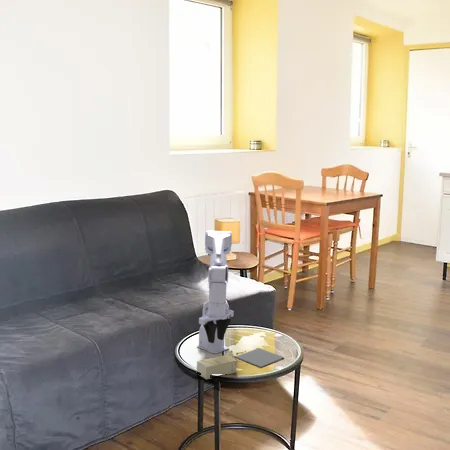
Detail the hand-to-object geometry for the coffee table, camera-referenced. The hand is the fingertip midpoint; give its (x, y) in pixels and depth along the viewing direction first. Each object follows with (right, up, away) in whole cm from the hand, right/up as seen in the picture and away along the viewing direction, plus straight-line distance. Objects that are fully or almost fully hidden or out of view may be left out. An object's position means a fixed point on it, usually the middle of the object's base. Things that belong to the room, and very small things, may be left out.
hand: (215, 340), depth 192 cm
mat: (+16, -9, +14) cm, 23 cm away
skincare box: (+6, -8, +3) cm, 10 cm away
